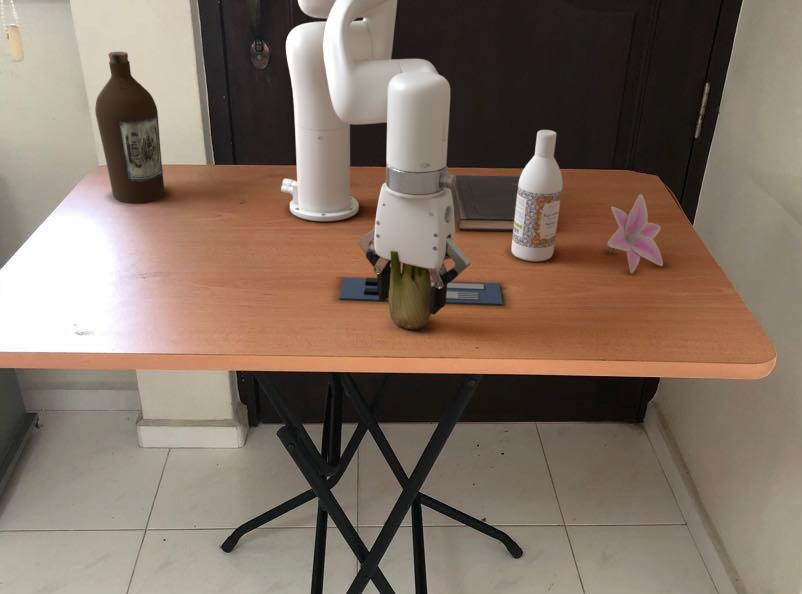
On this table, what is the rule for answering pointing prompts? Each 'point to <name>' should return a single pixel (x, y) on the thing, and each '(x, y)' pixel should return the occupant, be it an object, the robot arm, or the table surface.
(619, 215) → the lily
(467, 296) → the cutlery
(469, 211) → the hardcover book
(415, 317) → the fennel bulb
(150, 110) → the olive oil
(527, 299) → the table surface
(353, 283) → the napkin
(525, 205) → the bath foam
